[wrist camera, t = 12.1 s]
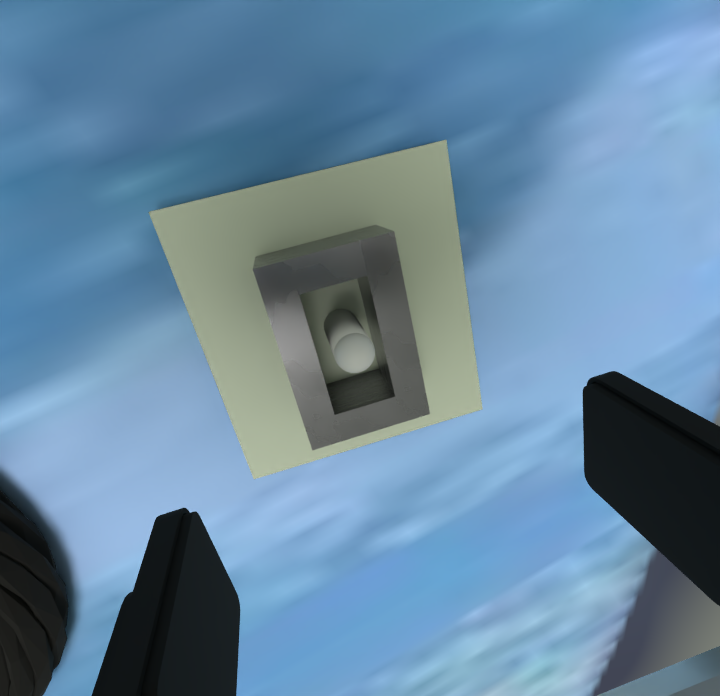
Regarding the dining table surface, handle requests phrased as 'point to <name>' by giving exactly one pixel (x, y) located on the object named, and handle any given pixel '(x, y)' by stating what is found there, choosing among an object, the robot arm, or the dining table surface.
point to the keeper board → (323, 293)
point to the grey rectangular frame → (386, 324)
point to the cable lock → (28, 606)
